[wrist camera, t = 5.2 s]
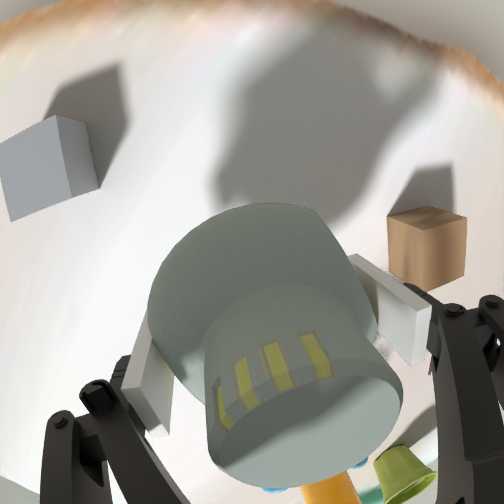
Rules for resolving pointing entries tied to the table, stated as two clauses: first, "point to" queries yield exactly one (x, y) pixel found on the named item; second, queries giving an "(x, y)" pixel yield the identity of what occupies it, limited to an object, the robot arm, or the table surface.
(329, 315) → the air freshener
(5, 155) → the grey block
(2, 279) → the table surface
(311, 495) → the cylinder
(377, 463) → the plant pot
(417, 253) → the walnut block
